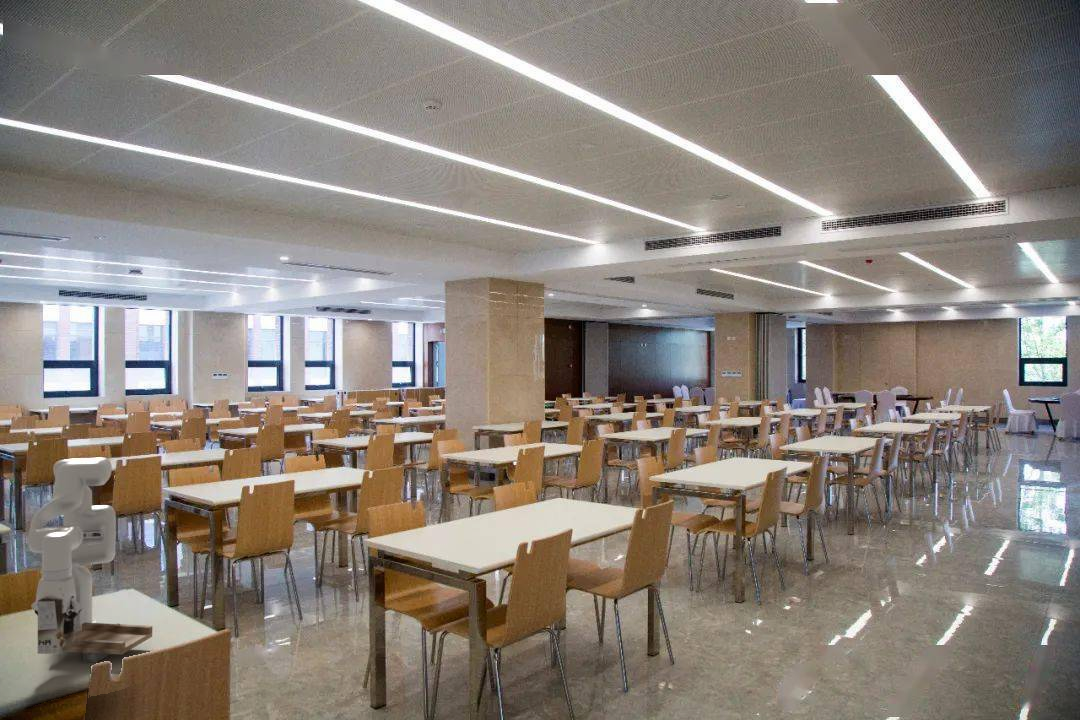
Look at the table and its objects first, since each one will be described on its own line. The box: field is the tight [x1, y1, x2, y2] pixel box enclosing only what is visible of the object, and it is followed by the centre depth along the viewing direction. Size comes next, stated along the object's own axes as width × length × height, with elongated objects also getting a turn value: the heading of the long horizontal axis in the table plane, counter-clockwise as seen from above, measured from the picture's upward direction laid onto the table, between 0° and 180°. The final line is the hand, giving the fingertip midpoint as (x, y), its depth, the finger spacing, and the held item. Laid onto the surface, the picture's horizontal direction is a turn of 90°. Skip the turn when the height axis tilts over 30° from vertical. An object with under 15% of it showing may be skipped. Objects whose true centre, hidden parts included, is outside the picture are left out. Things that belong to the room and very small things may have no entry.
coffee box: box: [37, 598, 75, 655], centre depth 226 cm, size 9×6×16 cm
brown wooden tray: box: [62, 622, 153, 663], centre depth 240 cm, size 24×15×7 cm, turn 84°
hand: (56, 631), depth 226 cm, fingers closed on coffee box, 7 cm apart
